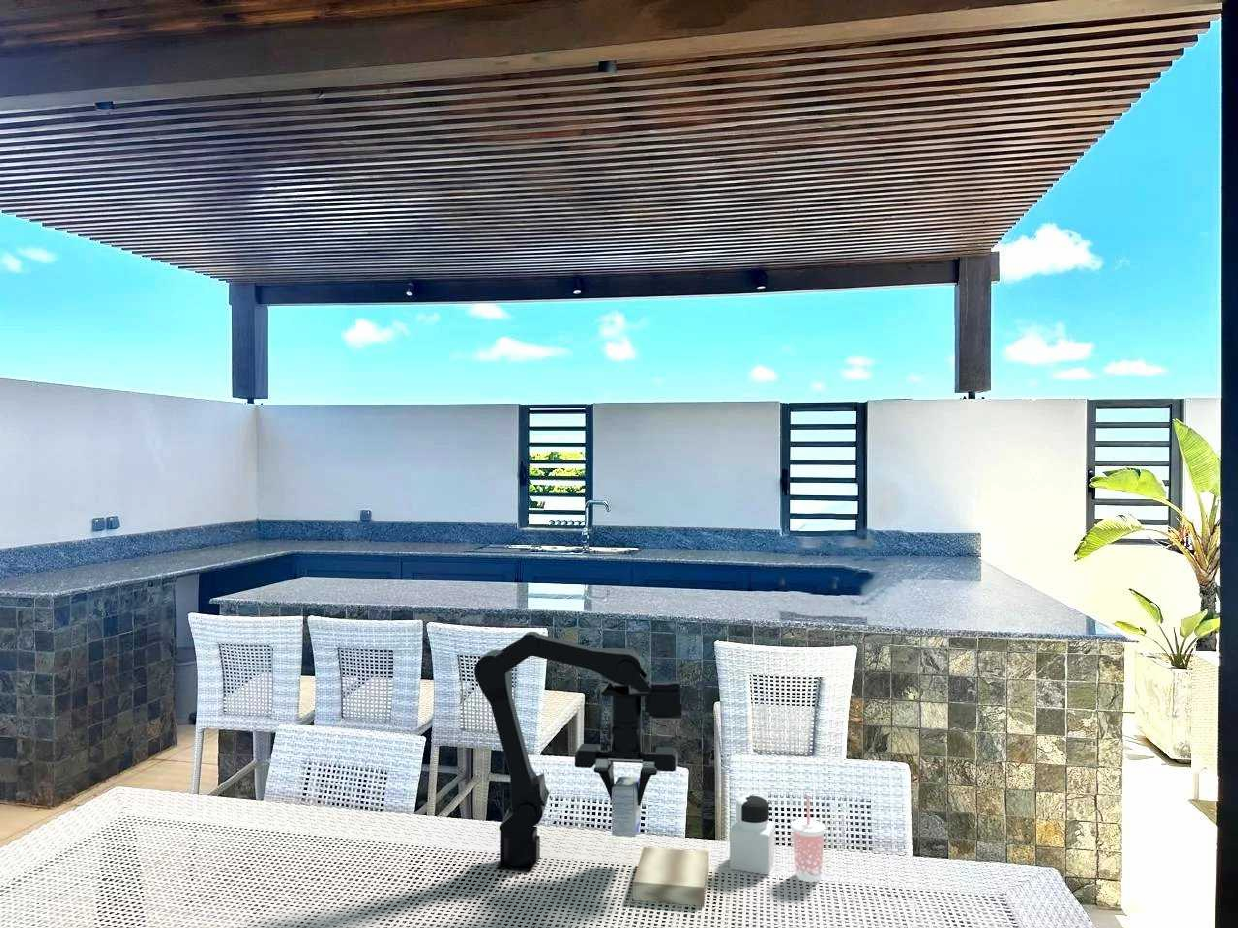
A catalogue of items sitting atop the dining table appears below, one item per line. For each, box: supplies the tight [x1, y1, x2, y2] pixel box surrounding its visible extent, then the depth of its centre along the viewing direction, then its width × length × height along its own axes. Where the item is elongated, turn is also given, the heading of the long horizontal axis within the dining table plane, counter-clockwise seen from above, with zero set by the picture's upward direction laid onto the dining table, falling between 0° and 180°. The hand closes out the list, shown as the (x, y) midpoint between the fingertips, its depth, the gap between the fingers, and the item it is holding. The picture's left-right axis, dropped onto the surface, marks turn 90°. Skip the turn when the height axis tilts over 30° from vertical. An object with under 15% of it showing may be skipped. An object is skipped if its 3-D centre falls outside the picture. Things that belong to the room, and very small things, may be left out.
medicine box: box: [611, 776, 642, 838], centre depth 148 cm, size 8×4×9 cm, turn 172°
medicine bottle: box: [729, 794, 775, 875], centre depth 149 cm, size 7×7×12 cm
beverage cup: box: [790, 796, 827, 883], centre depth 144 cm, size 6×6×14 cm
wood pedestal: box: [632, 846, 709, 907], centre depth 141 cm, size 12×14×3 cm
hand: (626, 804), depth 148 cm, fingers closed on medicine box, 4 cm apart
